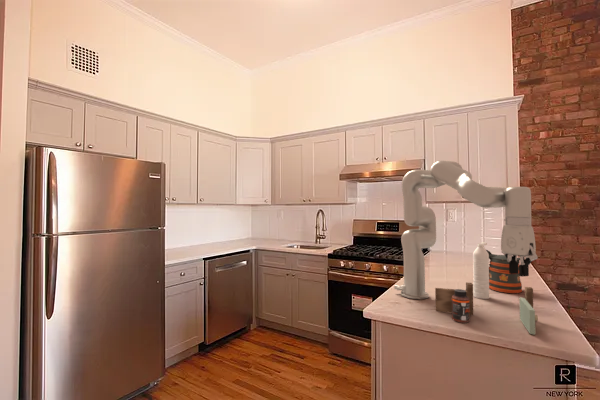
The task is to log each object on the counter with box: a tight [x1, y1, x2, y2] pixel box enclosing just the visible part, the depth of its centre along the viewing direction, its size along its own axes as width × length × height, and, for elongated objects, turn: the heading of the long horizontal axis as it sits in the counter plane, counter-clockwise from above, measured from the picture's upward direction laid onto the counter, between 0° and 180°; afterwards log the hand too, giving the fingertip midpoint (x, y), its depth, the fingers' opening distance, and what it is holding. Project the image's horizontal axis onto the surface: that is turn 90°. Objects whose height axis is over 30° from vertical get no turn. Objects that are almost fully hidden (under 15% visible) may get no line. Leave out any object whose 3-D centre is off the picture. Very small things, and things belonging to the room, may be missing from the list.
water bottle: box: [472, 242, 490, 300], centre depth 147 cm, size 9×6×25 cm
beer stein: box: [486, 249, 523, 295], centre depth 159 cm, size 19×15×20 cm
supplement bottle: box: [451, 288, 471, 324], centre depth 118 cm, size 6×6×11 cm
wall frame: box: [434, 282, 534, 316], centre depth 123 cm, size 34×3×12 cm, turn 71°
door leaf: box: [518, 297, 539, 335], centre depth 111 cm, size 15×3×8 cm, turn 155°
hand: (518, 274), depth 109 cm, fingers open, 3 cm apart
